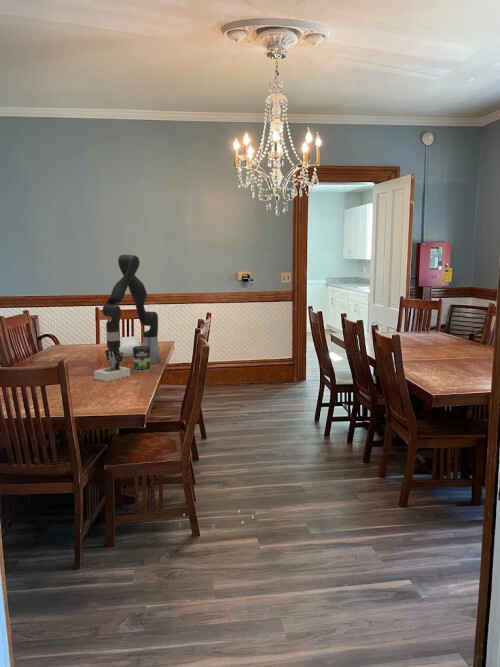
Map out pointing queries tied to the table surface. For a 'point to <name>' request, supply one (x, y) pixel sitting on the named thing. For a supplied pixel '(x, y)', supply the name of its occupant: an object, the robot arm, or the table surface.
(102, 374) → the well block
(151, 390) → the table surface
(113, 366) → the grey rectangular block
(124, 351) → the wavy white extrusion
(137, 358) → the coffee can
